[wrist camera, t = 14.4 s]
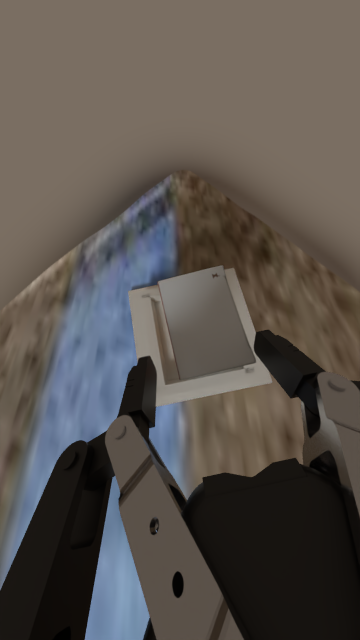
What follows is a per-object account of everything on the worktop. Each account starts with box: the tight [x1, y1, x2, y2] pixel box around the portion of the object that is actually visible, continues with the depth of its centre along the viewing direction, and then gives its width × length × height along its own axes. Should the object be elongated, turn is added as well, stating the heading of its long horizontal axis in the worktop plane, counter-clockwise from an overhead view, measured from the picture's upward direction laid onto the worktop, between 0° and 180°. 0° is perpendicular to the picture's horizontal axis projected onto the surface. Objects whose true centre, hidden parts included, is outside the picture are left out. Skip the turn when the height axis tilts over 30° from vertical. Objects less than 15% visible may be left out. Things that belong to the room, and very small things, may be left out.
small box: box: [157, 265, 256, 380], centre depth 15 cm, size 8×6×10 cm
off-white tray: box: [128, 268, 272, 407], centre depth 19 cm, size 18×18×4 cm
